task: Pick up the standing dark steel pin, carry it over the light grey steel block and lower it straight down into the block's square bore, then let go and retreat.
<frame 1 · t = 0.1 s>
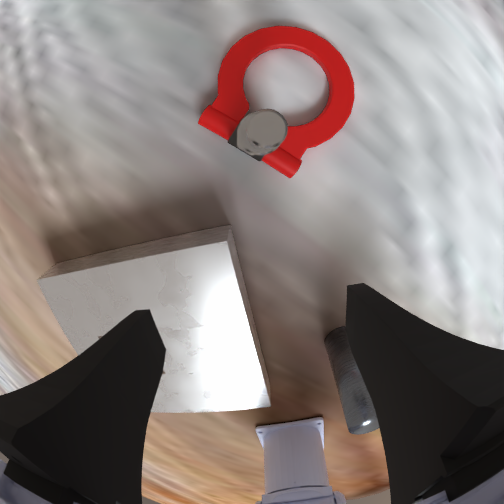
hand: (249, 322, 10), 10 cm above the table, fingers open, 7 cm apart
bore block: (161, 331, 23), on the table
tow hook: (282, 92, 16), on the table
pin: (341, 339, 23), on the table
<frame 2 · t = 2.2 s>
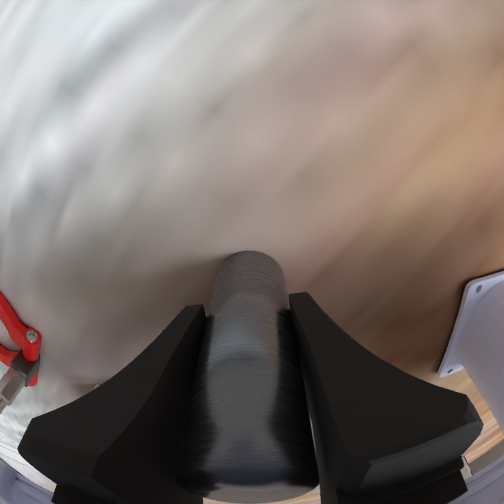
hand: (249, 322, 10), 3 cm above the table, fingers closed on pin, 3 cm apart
tow hook: (2, 323, 15), on the table
candy bar box: (454, 464, 30), on the table
pin: (250, 282, 13), on the table, touching gripper
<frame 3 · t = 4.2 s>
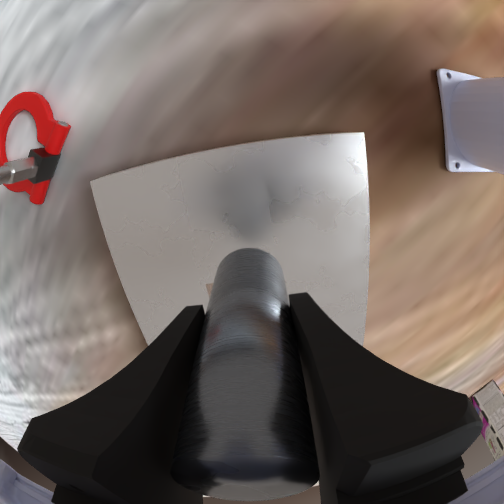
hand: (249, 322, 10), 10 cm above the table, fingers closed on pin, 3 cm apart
bore block: (243, 261, 20), on the table
tow hook: (28, 142, 16), on the table
candy bar box: (482, 397, 31), on the table
pin: (249, 279, 13), point 7 cm above the table, touching gripper
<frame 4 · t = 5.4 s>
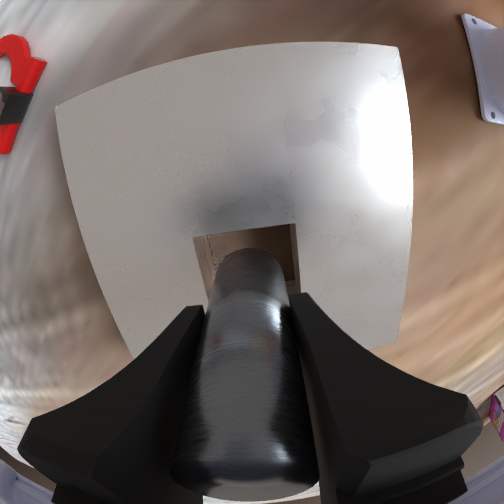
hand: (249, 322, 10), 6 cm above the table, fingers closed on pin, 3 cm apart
bore block: (245, 215, 15), on the table
tow hook: (2, 90, 11), on the table
candy bar box: (501, 396, 26), on the table
pin: (249, 280, 13), point 4 cm above the table, touching gripper
when the fingers open (4 cm above the table, at t = 6.3 s): pin stays where it is, resting in bore block.
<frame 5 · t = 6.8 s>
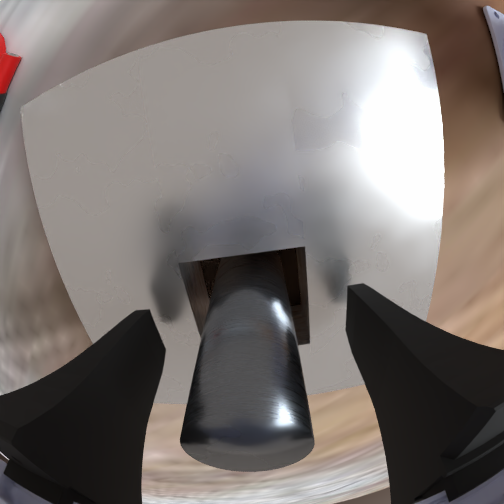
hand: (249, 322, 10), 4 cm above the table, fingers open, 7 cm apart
bore block: (243, 232, 13), on the table
pin: (250, 269, 13), resting in bore block
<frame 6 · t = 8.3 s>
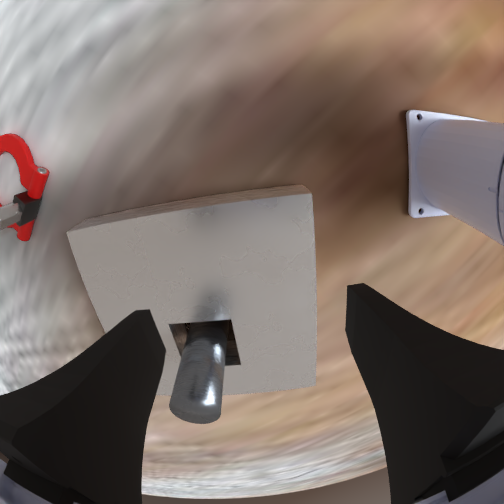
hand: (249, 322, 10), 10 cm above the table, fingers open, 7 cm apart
bore block: (205, 301, 22), on the table
tow hook: (13, 181, 17), on the table
pin: (210, 320, 22), resting in bore block
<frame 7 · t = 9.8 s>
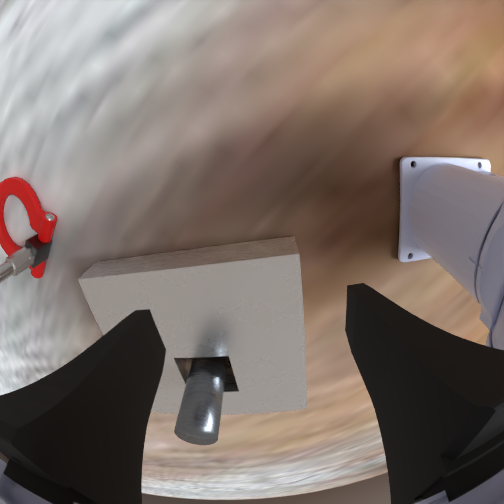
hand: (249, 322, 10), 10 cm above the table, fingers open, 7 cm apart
bore block: (206, 335, 23), on the table
tow hook: (23, 221, 20), on the table
pin: (212, 350, 24), resting in bore block
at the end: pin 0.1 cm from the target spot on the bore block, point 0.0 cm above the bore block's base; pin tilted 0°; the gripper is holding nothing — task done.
